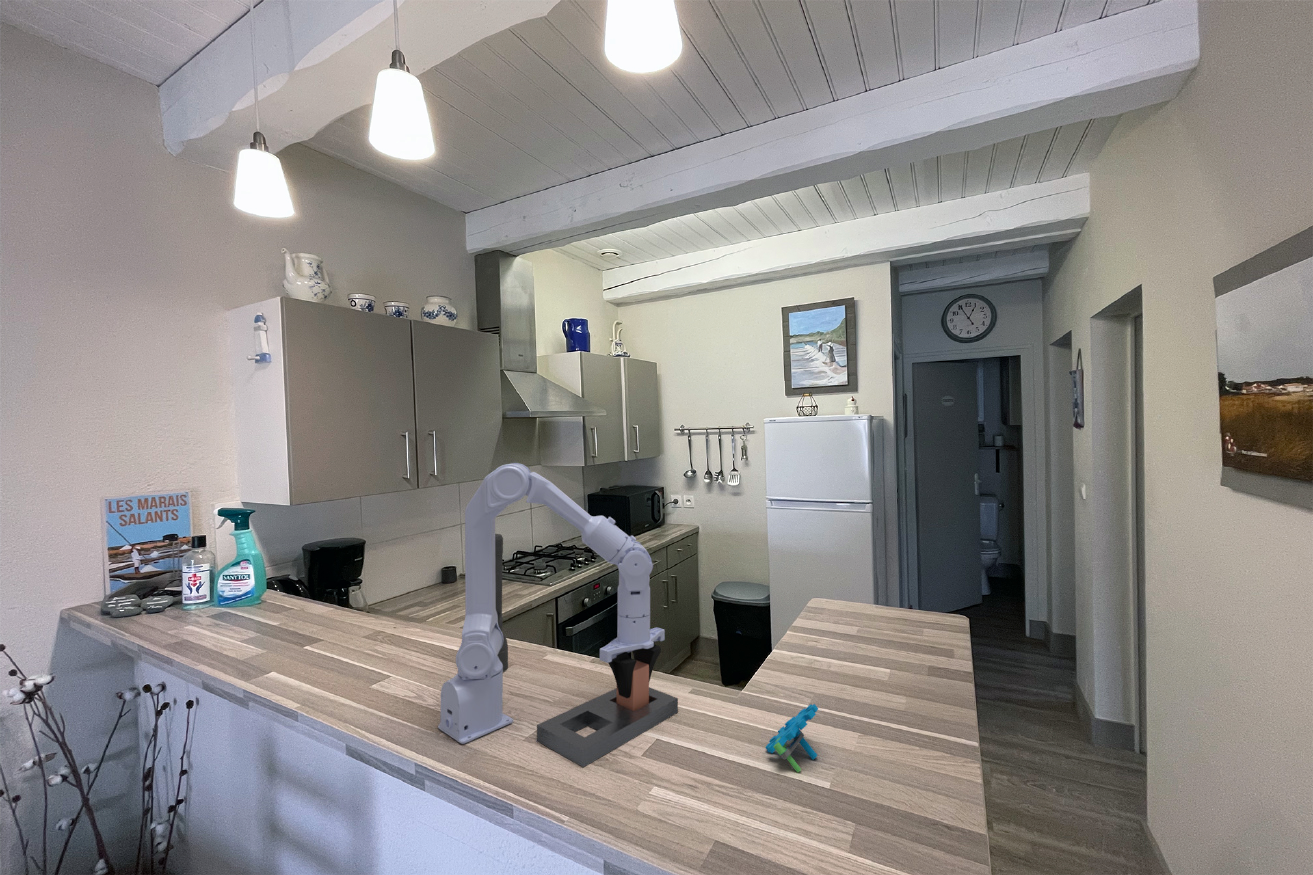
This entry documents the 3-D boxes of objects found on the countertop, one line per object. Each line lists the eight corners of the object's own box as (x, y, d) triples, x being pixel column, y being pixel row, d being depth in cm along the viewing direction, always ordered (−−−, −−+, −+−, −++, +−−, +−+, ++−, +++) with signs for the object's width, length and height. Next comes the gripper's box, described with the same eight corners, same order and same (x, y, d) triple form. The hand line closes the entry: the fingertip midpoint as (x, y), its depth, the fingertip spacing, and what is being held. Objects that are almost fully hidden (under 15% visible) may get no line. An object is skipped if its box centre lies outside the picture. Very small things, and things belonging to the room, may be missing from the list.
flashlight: (475, 678, 110) (510, 672, 113) (476, 538, 111) (511, 536, 114) (470, 665, 117) (504, 660, 120) (472, 533, 117) (505, 531, 120)
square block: (633, 713, 93) (633, 671, 93) (616, 705, 96) (616, 665, 96) (648, 704, 96) (648, 664, 96) (632, 697, 99) (632, 658, 99)
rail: (583, 767, 80) (583, 749, 80) (536, 740, 87) (536, 724, 87) (677, 712, 96) (677, 698, 96) (632, 694, 103) (632, 680, 103)
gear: (781, 719, 90) (820, 690, 85) (806, 752, 88) (848, 724, 83) (749, 758, 82) (790, 728, 77) (776, 795, 80) (821, 767, 75)
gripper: (621, 628, 88) (620, 713, 88) (677, 608, 99) (677, 684, 99) (591, 619, 93) (590, 700, 92) (648, 601, 104) (648, 673, 103)
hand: (633, 691), depth 96 cm, fingers closed on square block, 4 cm apart
